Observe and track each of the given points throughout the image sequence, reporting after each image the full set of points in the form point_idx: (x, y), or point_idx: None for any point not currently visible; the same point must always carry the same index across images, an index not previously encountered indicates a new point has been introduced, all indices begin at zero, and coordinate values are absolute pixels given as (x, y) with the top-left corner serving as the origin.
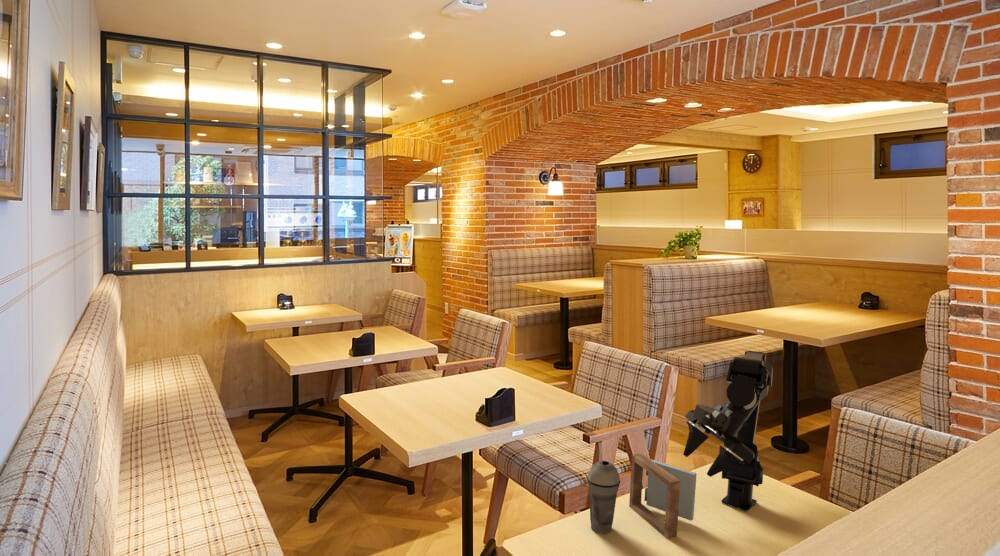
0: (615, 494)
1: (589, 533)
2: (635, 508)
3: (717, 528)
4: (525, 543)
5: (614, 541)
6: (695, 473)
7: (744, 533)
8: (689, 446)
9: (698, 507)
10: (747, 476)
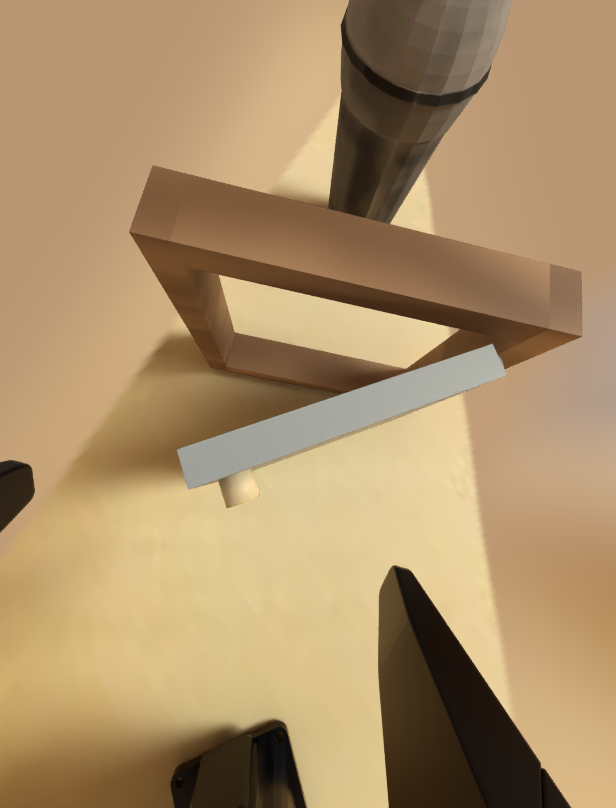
0: (346, 111)
1: None
2: (386, 365)
3: (168, 532)
4: None
5: None
6: (187, 474)
7: (86, 598)
8: (423, 684)
9: (304, 592)
10: None
